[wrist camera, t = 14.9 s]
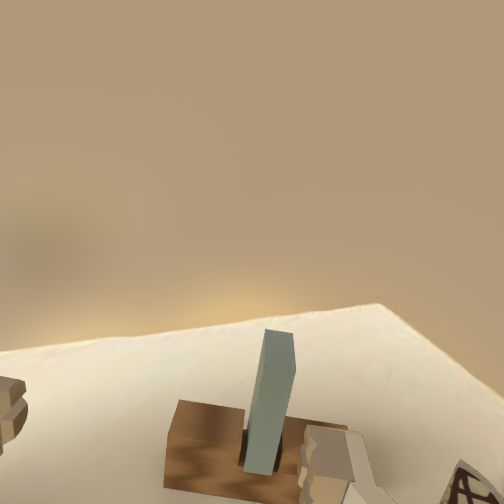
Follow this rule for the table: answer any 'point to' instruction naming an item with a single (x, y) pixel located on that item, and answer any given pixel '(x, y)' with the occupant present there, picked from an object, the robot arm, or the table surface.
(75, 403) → the table surface
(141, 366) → the table surface
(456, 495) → the food container
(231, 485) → the notched wooden block
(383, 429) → the table surface
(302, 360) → the table surface
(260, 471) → the sage green pillar
